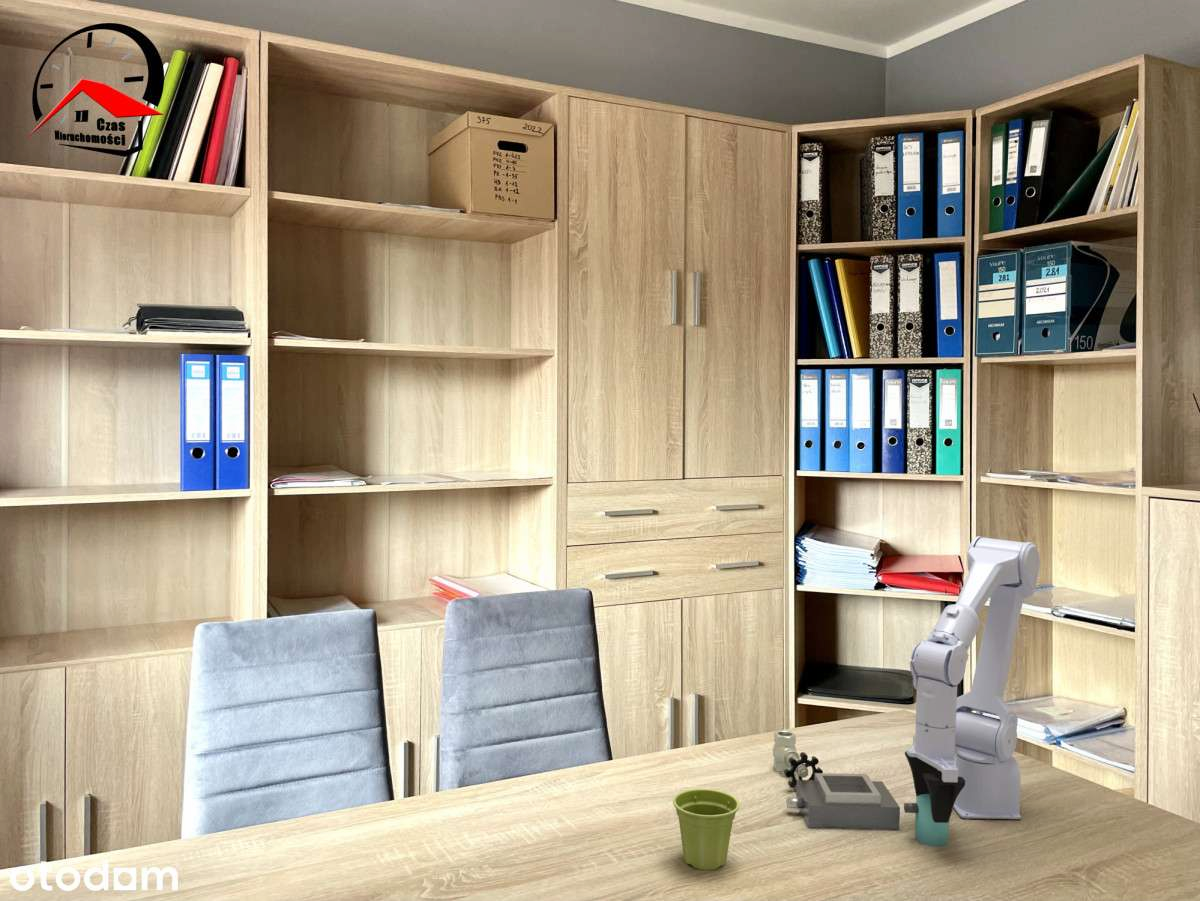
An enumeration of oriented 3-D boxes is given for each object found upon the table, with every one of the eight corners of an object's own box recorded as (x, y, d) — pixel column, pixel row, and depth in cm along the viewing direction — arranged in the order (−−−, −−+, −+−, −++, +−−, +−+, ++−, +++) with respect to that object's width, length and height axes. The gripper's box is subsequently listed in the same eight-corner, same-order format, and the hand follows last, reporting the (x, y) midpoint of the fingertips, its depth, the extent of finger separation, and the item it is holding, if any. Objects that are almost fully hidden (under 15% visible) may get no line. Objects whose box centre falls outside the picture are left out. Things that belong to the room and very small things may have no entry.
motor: (881, 802, 161) (882, 772, 161) (899, 829, 151) (900, 797, 151) (781, 800, 161) (782, 770, 161) (792, 827, 151) (793, 796, 151)
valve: (762, 766, 176) (785, 793, 164) (763, 730, 176) (786, 755, 164) (797, 764, 177) (822, 791, 165) (798, 728, 177) (823, 753, 165)
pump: (942, 832, 150) (943, 794, 150) (953, 847, 146) (954, 807, 145) (899, 831, 150) (900, 793, 150) (909, 846, 146) (910, 806, 145)
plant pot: (670, 844, 145) (671, 787, 145) (734, 846, 145) (735, 789, 144) (673, 875, 136) (674, 815, 135) (741, 877, 136) (742, 816, 135)
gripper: (894, 706, 154) (891, 790, 155) (924, 738, 140) (920, 831, 140) (939, 706, 154) (936, 791, 155) (973, 739, 140) (970, 832, 140)
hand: (932, 810), depth 148 cm, fingers open, 7 cm apart
